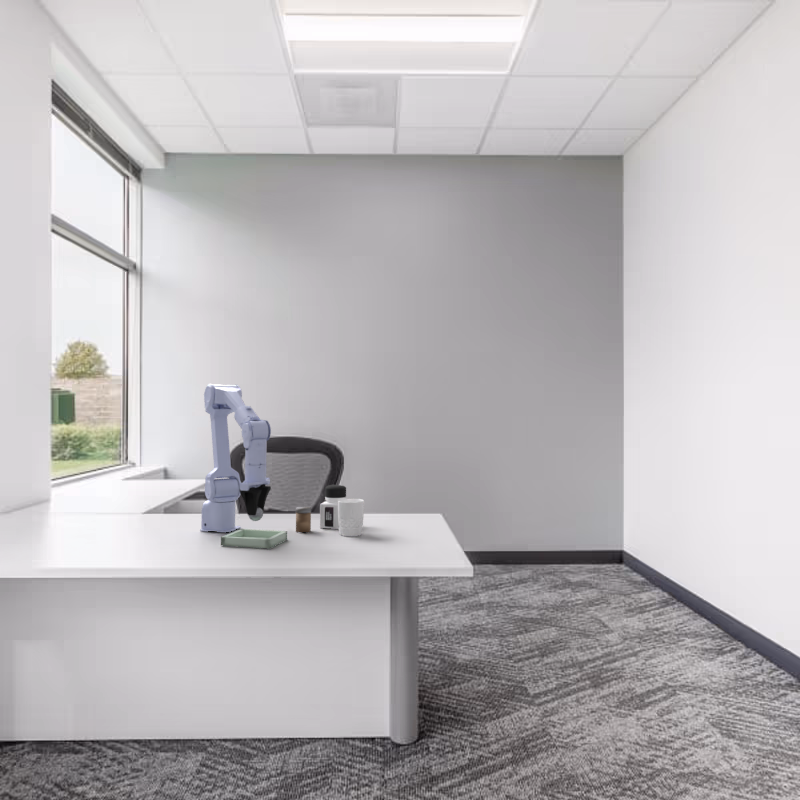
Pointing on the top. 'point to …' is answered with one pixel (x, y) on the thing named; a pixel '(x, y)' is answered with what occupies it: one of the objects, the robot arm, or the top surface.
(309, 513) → the cylinder
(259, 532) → the tray
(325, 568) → the top surface
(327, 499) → the container
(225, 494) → the robot arm
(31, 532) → the top surface
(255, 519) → the ball
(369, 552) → the top surface
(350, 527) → the white cup
